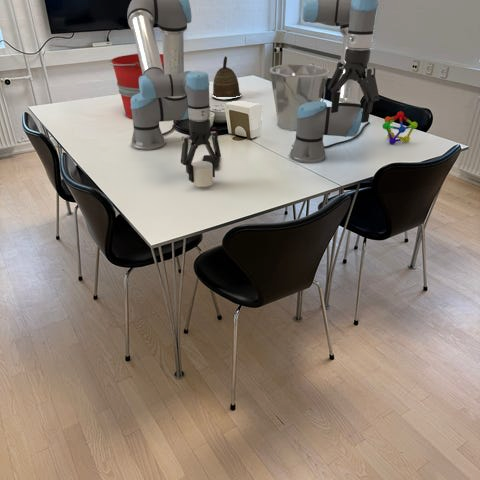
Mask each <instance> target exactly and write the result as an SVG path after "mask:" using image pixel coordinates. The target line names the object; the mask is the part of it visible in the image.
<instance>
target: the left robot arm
mask: <svg viewBox="0 0 480 480" xmlns="http://www.w3.org/2000/svg"><path fill="white" fill-rule="evenodd" d="M126 14H127V15H126V16H127V18H126V19H127V23H128V27H129V28H130V29H131V31H132V33H133V37H134V42H135V46H136V50H137V51H136V52H137V53H138V56H139V61H140V65H141V70H142V74H143V76H140V77H139V88H140V93H138V94H135V95H134V96H132V98H131V109H132V117H133V119H132V125H133V132H132V135H131V147H132V148H134V149H135V150H141V151H151V150H153V151H154V150H157V149H161V148H163V147H164V146H165V144H166V140H165V137H164V136H165V135H167V134H169V133H171V132H173V130H174V129H175V127H176V125H177V124H178V123H179V122H180V121H182V120H183V121H184V120H187V119H188V130H189V134H188V135H187V136H181V143H182V145H181V155H180V164H182V165H183V166H185V171H186V174H187V175H188V181H189V182H190V183H191V182H194V174H193V165H191V164H192V163H193V160H194V157H195V155H196V152H197V149H198V148H199V147H200V146H202V145H203V146H205V148H206V151H207V153H208V155H210V156H211V158H212V159H209V162H210V163H212V165H213V178H216V170H215V168H216V161H217V160H218V158H220V159H221V157H222V154H221V148H220V143H219V139H218V138H219V133H218V132H217V131H215V130H213V131H211V119H210V118H211V112H210V111H211V108H210V107H211V106H210V80H209V73H207V72H206V71H200V70H195V71H192V70H186V71H185V56H184V55H185V53H184V51H185V50H184V49H185V47H184V45H185V44H184V43H185V41H184V33H185V31H187V29H188V24H190V23H192V19H193V18H192V9H191V4H190V0H131V1H130V3H129V5H128V8H127V13H126ZM154 25H157V28H158V29H159V30H160V32H161V39H162V54H163V62H164V71H163V67H162V63H161V58H160V54H161V53H160V50H159V47H158V43H157V42H158V41H157V38H156V34H155V30H154ZM177 120H178V121H177ZM172 121H175V122H174V124H175V125H174V124H173V125H172V127H171V128H170V129H169V130H167V131H165V132H162V130H161V127H160V122H161V123H162V122H172ZM176 121H177V122H176ZM210 138H211V142H212V145H211V142H210ZM189 145H190V147H189Z"/></svg>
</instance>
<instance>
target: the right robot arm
mask: <svg viewBox="0 0 480 480" xmlns="http://www.w3.org/2000/svg"><path fill="white" fill-rule="evenodd" d="M378 7H379V0H303V5H302V20H303V22H305V23H310V24H315V23H317V24H322V25H324V26H330V27H339V33H340V34H341V36H342V42H341V43H342V44H341V52H340V53H341V55H340V61H338V62H337V64H336V69H335V70H334V73H333V74H332V77H331V79H330V81H329V83H328V85H327V87H326V88H327V90H329V91H330V92H331V97H330V102H331V106H328V105H327V103H326V102H325V101H323V102H322V101H314V102H308V103H304V104H302V105H301V106H300V107H299V108H298V115H297V129H296V130H295V139H294V142H293V143H292V144H291V147H292V148H291V149H290V155H289V157H290V158H291V159H292V160H293V161H295V162H299V163H303V164H316V163H321V162H323V161H325V159H326V151H325V149H329V148H331V147H334V146H337V145H341V144H345V143H348V142H351V141H353V140H355V139H357V138H359V136H360V135H361V134H362V132H363V131H364V129H365V128H366V127H367V126H368V125H370V124H371V122H370V115H371V113H372V111H373V107H374V103H375V102H378V101H380V94H379V89H378V84H377V79H376V68H375V67H371V68H369V67H368V64H369V62H370V57H371V48H372V46H373V45H372V44H373V37H374V29H375V24H376V18H377V17H376V16H377V10H378ZM359 89H361V93H362V94H363V96H364V99H365V101H364V102H363V106H362V107H361V105H362V104H361V102H360V101H359V99H358V98H359V92H360V91H359ZM364 123H365V124H364ZM362 124H364V125H362ZM361 125H362V127H361ZM360 128H361V129H360ZM324 136H330V137H344V138H347V137H349V139H345V140H342V141H337V142H334V143H331V144H328V145H324Z"/></svg>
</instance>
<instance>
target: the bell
mask: <svg viewBox="0 0 480 480" xmlns="http://www.w3.org/2000/svg"><path fill="white" fill-rule="evenodd" d="M227 63H228V57H227V56H224V58H223V63H222V67H221V68H219V69H218V70H217V71H216V73H215V75H214V78H213V81H212V83H213V84H212V95H214V96H216V97H236V96H240V95H241V96H242V93H241V92H240V83H239V80H238V79H239V78H238V77H237V75H236V73H235V72H234V70H232V69H231V68H230V67H227Z"/></svg>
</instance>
